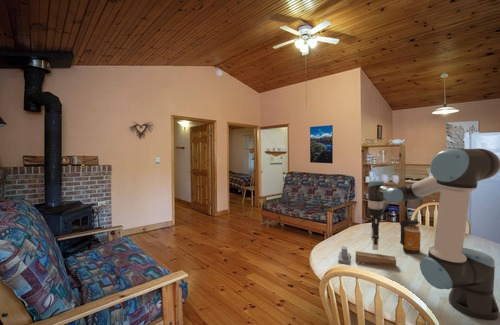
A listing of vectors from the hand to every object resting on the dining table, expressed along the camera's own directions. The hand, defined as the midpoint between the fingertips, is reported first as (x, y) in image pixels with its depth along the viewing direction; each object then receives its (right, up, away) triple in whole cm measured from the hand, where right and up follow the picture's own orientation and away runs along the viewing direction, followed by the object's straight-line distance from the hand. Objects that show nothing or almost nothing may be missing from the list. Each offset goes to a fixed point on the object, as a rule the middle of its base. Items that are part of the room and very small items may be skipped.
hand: (374, 244), depth 138 cm
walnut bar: (0, -11, 0) cm, 11 cm away
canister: (+30, -9, +15) cm, 35 cm away
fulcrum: (-14, -10, +7) cm, 19 cm away
